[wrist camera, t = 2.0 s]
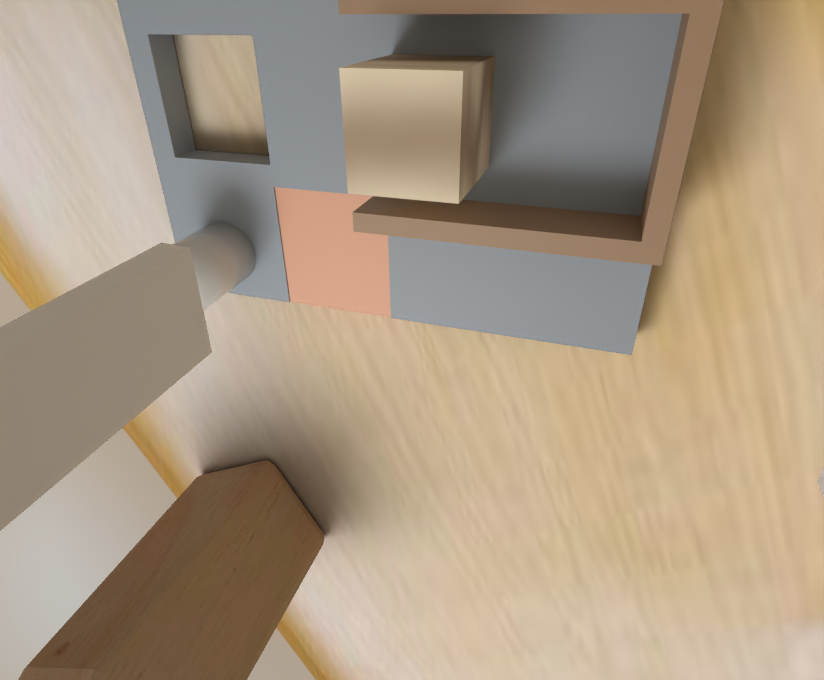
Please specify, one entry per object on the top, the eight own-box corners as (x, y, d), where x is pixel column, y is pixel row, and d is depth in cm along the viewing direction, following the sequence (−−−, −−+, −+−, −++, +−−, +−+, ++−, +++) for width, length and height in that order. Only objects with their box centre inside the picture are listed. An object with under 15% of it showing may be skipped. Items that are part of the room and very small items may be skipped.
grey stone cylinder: (195, 218, 36) (139, 247, 32) (250, 225, 35) (199, 255, 31) (207, 276, 38) (156, 310, 34) (260, 284, 37) (213, 320, 33)
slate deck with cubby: (127, -70, 30) (40, -81, 26) (729, -102, 22) (754, -126, 18) (203, 274, 41) (150, 309, 36) (631, 337, 33) (631, 391, 28)
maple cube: (391, 54, 27) (338, 67, 22) (495, 56, 26) (463, 70, 21) (394, 160, 30) (347, 193, 25) (488, 167, 28) (458, 203, 23)
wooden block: (196, 471, 53) (5, 681, 37) (272, 453, 48) (90, 686, 32) (255, 547, 56) (102, 770, 40) (332, 537, 51) (193, 787, 35)
